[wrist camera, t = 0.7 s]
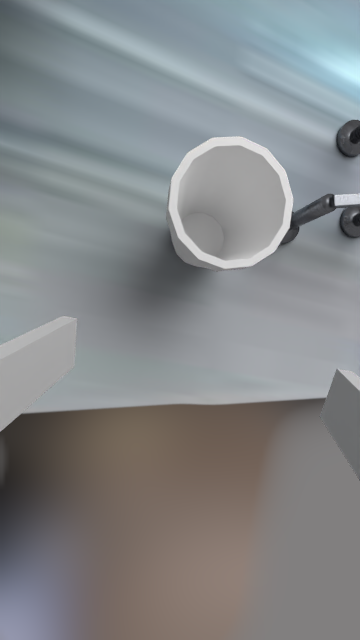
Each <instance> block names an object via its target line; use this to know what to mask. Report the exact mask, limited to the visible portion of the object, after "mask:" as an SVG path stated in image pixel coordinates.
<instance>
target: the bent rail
mask: <svg viewBox="0 0 360 640" xmlns="http://www.w3.org/2000/svg"><path fill="white" fill-rule="evenodd" d="M337 145H338V148H339V150H340V151H341V152H342V153H343V154H344V155H346V156H349V157H354V156H357V155H359V154H360V121H359V120H351V121H349V122H347V123H346V124H345V125H343V126H342V127H341V128H340V130H339V132H338V134H337ZM346 207H348V208H346ZM336 208H346V209H345V210H344V212H343V213H342V215H341V219H340V225H341V228H342V230H343V232H344V233H345V234H346V235H348V236H350V237H359V236H360V194H345V195H333V194H327V195H325V196H323V197H321V198H320V199H318V200H316V201H314V202H312V203H311V204H309V205H307V206H305V207H303V208H302V209H300V210H298V211H296V212H295V213H294V212H292V214H291V221H290V228H289V229H288V231H287V233H286V234H285V236H284V237H283V239H282V241H281V242H280V244H283V243H287V242H290V241H291V240H293V239H294V238H295V237H296V236H297V234H298V232H299V226H301V225H303V224H305V223H308V222H310V221H312V220H314V219H317V218H319V217H321V216H323V215H325V214H328V213H330V212H332V211H334V210H335V209H336Z"/></svg>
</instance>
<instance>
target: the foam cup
mask: <svg viewBox="0 0 360 640" xmlns="http://www.w3.org/2000/svg"><path fill="white" fill-rule="evenodd" d="M292 206H293V196H292V192H291V189H290V185H289V181H288V178H287V174H286V171H285V170H284V168H283V167H282V166H281V165H280V164H279V162H278V161H277V160H276V159H275V158H274V156H273V155H272V154H271V153H270V151H269V150H268V149H267V148H265V147H263V146H260V145H258V144H256V143H254V142H252V141H250V140H248V139H245V138H243V137H241V136H240V137H218V138H211V139H210V140H208V141H206V142H205V143H203V144H201V145H200V146H198V147H196V148H194V149H193V150H191V151H189V152H188V153H187V154H186V156H185V158H184V159H183V161H182V162H181V164H180V166H179V167H178V169H177V170H176V172H175V174H174V175H173V177H172V179H171V183H170V188H169V194H168V203H167V213H166V220H167V222H168V225H169V228H170V231H171V238H172V243H173V246H174V249H175V252H176V254H177V255H178V256H179V257H180V258H181V259H182V260H183V261H184V262H185V263H188V264H191V265H193V266H196V267H203V268H208V269H211V270H213V271H216V272H218V271H228V270H238V269H243V268H247V267H250V266H253V265H254V264H256V263H257V262H259V261H261V260H262V259H264V258H265V257H267V256H268V255H270V254H272V253H273V252H275V250H276V249H277V247H278V245H279V244H280V242H281V241H282V239H283V237H284V236H285V234H286V233H287V231H288V229H289V228H290V221H291V214H292Z"/></svg>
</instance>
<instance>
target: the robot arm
mask: <svg viewBox="0 0 360 640" xmlns="http://www.w3.org/2000/svg"><path fill="white" fill-rule="evenodd" d="M76 331H77V318H72V317H67V316H62V317H59V318H57V319H55V320H53V321H51V322H49V323H47V324H44V325H42V326H40V327H38V328H36V329H34V330H32V331H29V332H27V333H25V334H23V335H21V336H19V337H17V338H14V339H12V340H10V341H8V342H6V343H4V344H2V345H0V431H1V430H3V429H4V428H5V427H6V426H7V425H8V424H9V423H11V422H12V421H13V420H14V419H15V418H16V417H18V416H19V415H20V414H21V413H22V412H23V411H24V410H26V409H27V408H28V407H29V406H30V405H31V404H32V403H34V402H35V401H36V400H37V399H38V398H39V397H40V396H42V395H43V394H44V393H45V392H46V391H47V390H48V389H50V388H51V387H52V386H53V385H54V384H55V383H56V382H58V381H59V380H60V379H61V378H62V377H63V376H64V375H66V374H67V373H68V372H69V371H70V370H71V369H72V368H74V363H75V347H76ZM320 418H321V420H322V422H323V423H324V425H325V426H326V428H327V430H328V431H329V433H330V434H331V436H332V437H333V439H334V441H335V442H336V444H337V445H338V447H339V449H340V450H341V452H342V453H343V455H344V457H345V458H346V459H347V461H348V463H349V464H350V466H351V467H352V469H353V471H354V472H355V474H356V475H357V477H358V479H359V480H360V378H359V377H358V376H357V375H356V374H355V373H354V372H351V371H346V370H341V369H337V370H336V373H335V375H334V378H333V381H332V384H331V387H330V390H329V392H328V395H327V398H326V401H325V404H324V407H323V410H322V413H321V415H320Z"/></svg>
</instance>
